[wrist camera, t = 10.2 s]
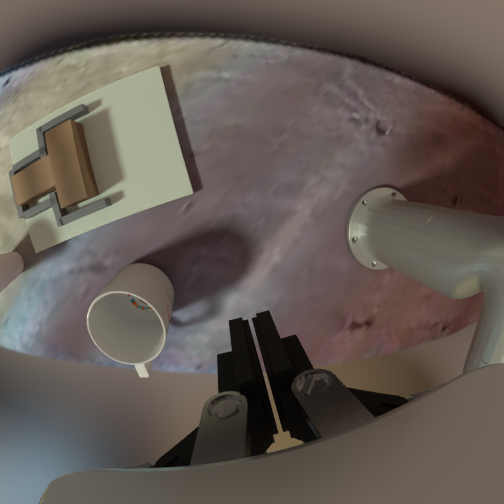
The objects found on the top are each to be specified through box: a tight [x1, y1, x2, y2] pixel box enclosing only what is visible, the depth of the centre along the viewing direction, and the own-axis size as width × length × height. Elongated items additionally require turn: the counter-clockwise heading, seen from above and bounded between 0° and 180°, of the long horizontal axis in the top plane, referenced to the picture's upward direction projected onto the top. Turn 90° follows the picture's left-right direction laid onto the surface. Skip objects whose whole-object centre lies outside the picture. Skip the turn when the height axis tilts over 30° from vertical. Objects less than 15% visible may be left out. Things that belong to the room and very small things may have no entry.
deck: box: [9, 66, 194, 253], centre depth 30 cm, size 25×18×3 cm
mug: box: [87, 263, 175, 377], centre depth 32 cm, size 12×9×11 cm
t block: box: [11, 119, 99, 209], centre depth 28 cm, size 11×10×4 cm
